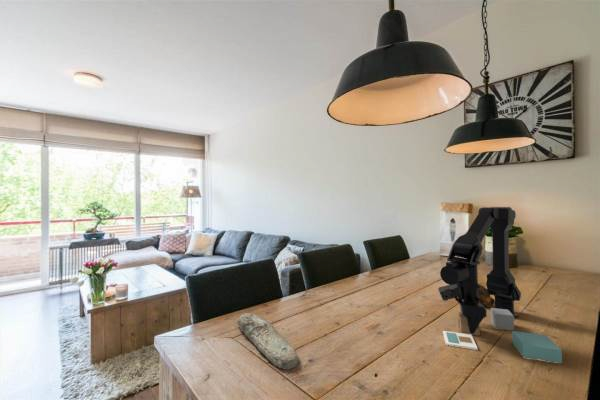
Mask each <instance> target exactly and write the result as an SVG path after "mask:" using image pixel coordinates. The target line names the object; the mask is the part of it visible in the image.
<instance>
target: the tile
mask: <svg viewBox="0 0 600 400" xmlns="http://www.w3.org/2000/svg"><path fill="white" fill-rule="evenodd" d="M442 335H443V339H444V342H445V346H448V345H449V347H454V346H455V347H456V348H460V347H461V349H468V350H474V351H478V350H479V349H478V346H477V344H476V341H475V340H474V337H473V335H471V334H464V333H461V332H455V331H448V330H442ZM455 347H454V348H455Z"/></svg>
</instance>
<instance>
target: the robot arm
mask: <svg viewBox="0 0 600 400" xmlns="http://www.w3.org/2000/svg"><path fill="white" fill-rule="evenodd" d="M516 215H517V214H516V211H515V210H513V209H512V207H511V206H490V207H489V206H484V207H483V206H482V207H480V208H479V209H478V213H477V215H476V217H475V219H474V220H473V222H472V224H471V225H470V226H469V228H468V230H467V232H466V233H464V234H462V235H459V237H457V238H456V240H455V241H454V242H453V244H452V246H451V248H450V251H449V253H448V256H447V259H446V260H447V261H445V262H446V263H445V266H442V268H441V269H440V272H439V275H440V278H441V280H442V281H443V282H444V283H445V284H447V285H443V286H440V287H438V288H437V289H438V293H439V295H440V297H441V299H442V301H444V302H447V301H448V300H451V299H452V300H453V299H455V301H456V302H457V303H458V304H459V307H460V312H461V313H462V314H463V315H464V316H465V317H466V318H467V323H468V327H469V331H470V333H475V331H476V329H477V327H478V326H479V327H480V324H481V323H482V321H483V319H485V318H487V316H488V315H487V311H488V310H487V309H486V308H485V306H484V304H483V303H482V302H480V298H479V296H478V288H480V286H479V285H480V284H479V282H478V281H479V280H478V279H479V278H478V277H479V275H478V274H479V273H478V266H479V265H480V264H481V262H480V261H479V259H480V257H481V256H482V254H483V249H484V248H483V245H482V243H483V240H484V238H485V237H486V234H487V233H488V231H489V229H490V230H491V231H492V232H491V233H492V235H491V236H492V238H491V241H492V243H491V244H492V269H491V271H490V272H489V273H487V274H486V283H485V284H486V289H487V290H488V294H489V295H490V296H494V306H493V307H491V308H497V309H507V310H509V311H510V312H511V313H512V314H513V316H514V318H519V316H518V314H517V313H516V312H515V302H516V301H517V302H518V301H519V302H520V301H521V294H522V292H521V290H520V289H519V287H518V286H517V284H516V279H515V277H514V275H513V274H512V273H511V271H510V257H509V255H510V250H509V246H510V245H509V235H510V234H509V231H510V230H511V228H512V227H513V226H514V224H515V219H516ZM475 301H479V302H478V303H477V302H475Z"/></svg>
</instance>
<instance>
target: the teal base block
mask: <svg viewBox="0 0 600 400" xmlns="http://www.w3.org/2000/svg"><path fill="white" fill-rule="evenodd" d="M511 336H512V339H511V340H512V344H514V345H515V346H514V345H513V346H514V347H515V349H516V348H517V349H518V350H519V351H518V350H517V349H516V350H517V351H518V353H519V352H520V353H521V354H522V356H523V357H525V358H531V359H541V360H545V361H551V362H558V363H562V364H563V355H562V353H563V352H562V349H561V347H559V346H558V345H557V344H556V343H555V342H554V341H553V340H552V339H551V338H550V337H549V336H548V335H546V334H541V333H540V334H539V333H532V332H525V331H524V332H523V331H515V330H514V331H511ZM520 353H519V354H520ZM521 354H520V355H521ZM523 357H522V358H523Z"/></svg>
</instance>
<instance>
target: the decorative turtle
mask: <svg viewBox="0 0 600 400" xmlns="http://www.w3.org/2000/svg"><path fill="white" fill-rule="evenodd" d="M479 286H480V288H478V296H479V298H480V301H475V302H477V303H481V304H486V305H491V306H492V305H494V304H495V298H493V297H492V296H491V295H489V294H488V290H487V287H485V286H484V285H481V284H479Z"/></svg>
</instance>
